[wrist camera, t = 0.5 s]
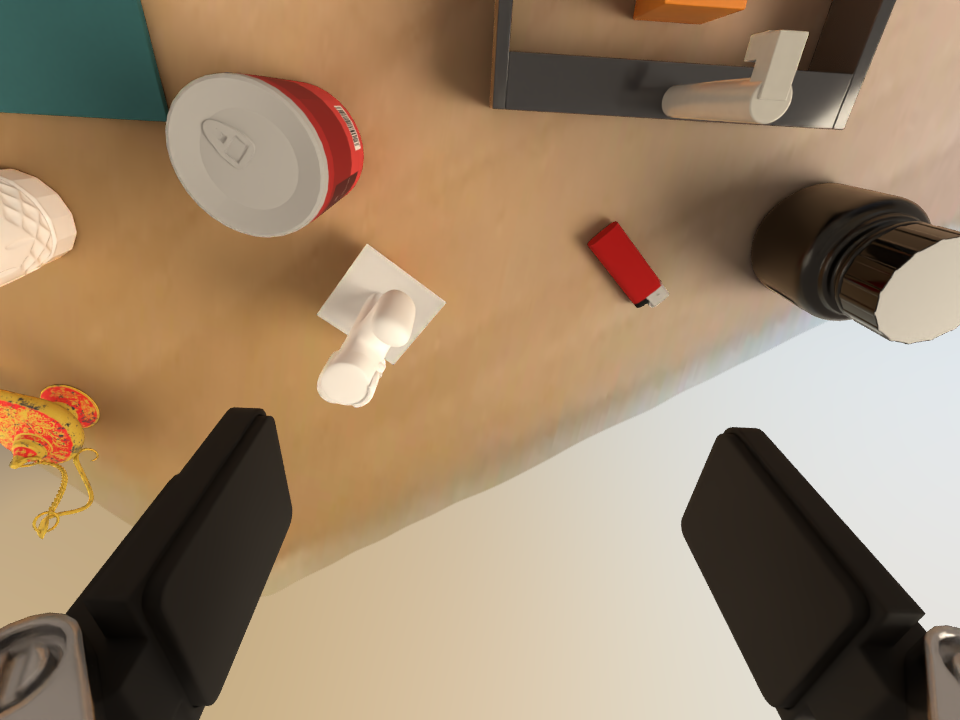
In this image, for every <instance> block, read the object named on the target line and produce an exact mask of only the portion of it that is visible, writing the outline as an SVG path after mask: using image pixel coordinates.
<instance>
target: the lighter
mask: <svg viewBox="0 0 960 720" xmlns="http://www.w3.org/2000/svg"><path fill="white" fill-rule="evenodd" d="M587 245H588V247H589V248H590V249H591V250H592V252H593V253H594V254H595V255H596V257H597V258H598V259H599V261H600V262H601V263H602V264H603V266H604V267H605V268H606V270H607V271H608V272H609V273H610V275H611V276H612V277H613V278H614V280H615V281H616V282H617V284H618V285H619V286H620V287H621V289H622V290H623V291H624V292H625V294H626V295H627V296H628V298H629V299H630V300H631V301H632V303H633V304H634V305H635V306H636V307H637V308H639V307H642V306H644V305H645V304H648V305H649V306H650V307H655V306H657V305H658V304H659V303H661V302H662V301H663V300H665V299H666V298H667V297H668V296H669V292H668V291H667V290H666V288H665V287H664V285H663V284H662V283H661V280H659V279H658V277H657V276H656V275H655V273H654V272H653V270H652V269H651V268H650V266H649V265H648V264H647V262H646V261H645V259H644V258H643V257H642V255H641V254H640V253H639V251H638V250H637V248H636V247H635V246H634V244H633V243H632V242H631V240H630V239H629V238H628V236H627V235H626V233H625V232H624V231H623V229H622V228H621V227H620V225H619V224H618V222H616V221H615V222H612V223H611V224H609V225H608V226H607V227H606V228H604V229H603V230H602V231H601V232H599V233H598V234H597V235H596V236H595V237H593V238H592V239H591V240H590V241H589V242H588V244H587Z"/></svg>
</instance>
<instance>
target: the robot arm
mask: <svg viewBox="0 0 960 720" xmlns="http://www.w3.org/2000/svg"><path fill="white" fill-rule="evenodd" d="M291 519H292V505H291V500H290V495H289V490H288V485H287V480H286V475H285V470H284V465H283V460H282V455H281V450H280V445H279V440H278V435H277V430H276V425H275V421H274V418H273V417H272V416H266V413H265V411H264V410H263V409H260V408H235V407H233V408H230V409H229V410H228V411H227V412H226V413H225V415H224V416H223V417H222V419H221V420H220V421H219V423H218V424H217V425H216V426H215V428H214V429H213V430H212V432H211V433H210V434H209V436H208V437H207V438H206V439H205V441H204V442H203V443H202V445H201V446H200V447H199V449H198V450H197V451H196V452H195V454H194V455H193V456H192V458H191V459H190V460H189V462H188V463H187V464H186V465H185V467H184V468H183V469H182V471H181V472H180V473H179V474H177V475H175V476H174V477H173V478H172V479H171V480H170V481H169V482H168V483H167V484H166V486H165V487H164V488H163V490H162V491H161V492H160V493H159V495H158V496H157V497H156V499H155V500H154V501H153V502H152V504H151V505H150V506H149V507H148V509H147V510H146V511H145V513H144V514H143V515H142V516H141V518H140V519H139V520H138V522H137V523H136V524H135V525H134V527H133V528H132V530H131V531H130V532H129V533H128V535H127V536H126V537H125V538H124V540H123V541H122V542H121V543H120V545H119V546H118V547H117V549H116V550H115V551H114V552H113V554H112V555H111V556H110V558H109V559H108V560H107V561H106V563H105V564H104V565H103V566H102V568H101V569H100V570H99V572H98V573H97V574H96V575H95V577H94V578H93V579H92V581H91V582H90V583H89V584H88V586H87V587H86V588H85V590H84V591H83V592H82V594H81V595H80V596H79V597H78V599H77V600H76V601H75V602H74V604H73V605H72V606H71V607H70V609H69V610H68V611H67V613H66V614H59V613H45V614H39V615H33V616H29V617H27V618H24V619H21V620H19V621H16V622H13V623H10V624H8V625H6V626H5V627H3V628H1V629H0V720H199V719H200V716H201V714H202V712H203V709H204V707H205V706H209V705H212V704H213V703H214V702H215V701H216V700H217V698H218V696H219V694H220V692H221V690H222V687H223V685H224V682H225V680H226V678H227V675H228V673H229V671H230V668H231V666H232V663H233V661H234V659H235V656H236V654H237V651H238V649H239V646H240V644H241V641H242V639H243V637H244V634H245V632H246V629H247V627H248V625H249V622H250V620H251V618H252V615H253V613H254V610H255V607H256V606H257V603H258V601H259V598H260V596H261V594H262V591H263V589H264V586H265V584H266V581H267V579H268V577H269V574H270V572H271V569H272V567H273V565H274V562H275V560H276V557H277V555H278V553H279V550H280V548H281V545H282V543H283V541H284V538H285V536H286V533H287V531H288V529H289V526H290V523H291ZM681 527H682V533H683V535H684V538H685V540H686V542H687V544H688V546H689V548H690V550H691V552H692V554H693V556H694V558H695V560H696V562H697V564H698V566H699V568H700V570H701V572H702V574H703V576H704V578H705V580H706V582H707V584H708V586H709V588H710V590H711V592H712V594H713V596H714V598H715V600H716V602H717V604H718V606H719V608H720V610H721V612H722V614H723V616H724V618H725V620H726V622H727V624H728V626H729V629H730V630H731V633H732V634H733V637H734V639H735V641H736V643H737V645H738V647H739V649H740V650H741V653H742V655H743V657H744V659H745V661H746V663H747V665H748V667H749V669H750V671H751V673H752V675H753V677H754V679H755V681H756V683H757V685H758V687H759V689H760V691H761V693H762V695H763V696H764V698H765V700H766V701H767V702H768V703H769V704H770V705H771V706H773V707H775V708H776V709H777V711H778V713H779V715H780V717H781V719H782V720H960V628H957V627H952V626H947V625H945V626H934V627H933V628H932V629H930V630H929V631H928V632H926V631H925V630H924V628H923V627H922V626H921V625H920V624H919V623H918V621H919V619H921V618H922V617H923V616H924V615H925V613H924V611H923V610H922V609H921V608H920V607H919V606H918V605H917V603H916V602H915V601H914V600H913V599H912V598H911V597H910V596H909V595H908V593H907V592H906V591H905V590H904V589H903V588H902V587H901V586H900V584H899V583H898V582H897V581H896V580H895V579H894V578H893V577H892V575H891V574H890V573H889V572H888V571H887V570H886V569H885V568H884V566H883V565H882V564H881V563H880V562H879V561H878V560H877V559H876V558H875V557H874V555H873V554H872V553H871V552H870V551H869V550H868V549H867V547H866V546H865V545H864V544H863V543H862V542H861V541H860V540H859V539H858V537H857V536H856V535H855V534H854V533H853V532H852V531H851V530H850V528H849V527H848V526H847V525H846V524H845V523H844V522H843V521H842V520H841V518H840V517H839V516H838V515H837V514H836V513H835V512H834V510H833V509H832V508H831V507H830V506H829V505H828V504H827V503H826V501H825V500H824V499H823V498H822V497H821V496H820V495H819V494H818V493H817V492H816V490H815V489H814V488H813V487H812V486H811V485H810V484H809V483H808V481H807V480H806V479H805V478H804V477H803V476H802V475H801V474H800V473H799V471H798V470H797V469H796V468H795V467H794V466H793V465H792V464H791V462H790V461H789V460H788V459H787V458H786V457H785V456H784V454H783V453H782V452H781V451H780V450H779V449H778V448H777V447H776V445H774V443H773V442H772V441H771V440H770V439H769V438H768V437H767V435H766V434H765V433H764V432H763V431H761V430H760V429H757V428H738V427H732V428H728V429H727V430H725V432H724V433H723V434H720V435H719V436H717V438H716V440H715V443H714V445H713V447H712V449H711V452H710V454H709V456H708V459H707V461H706V463H705V466H704V468H703V470H702V473H701V475H700V477H699V480H698V482H697V485H696V487H695V489H694V491H693V494H692V496H691V499H690V501H689V503H688V506H687V508H686V510H685V513H684V515H683V517H682V521H681Z"/></svg>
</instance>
